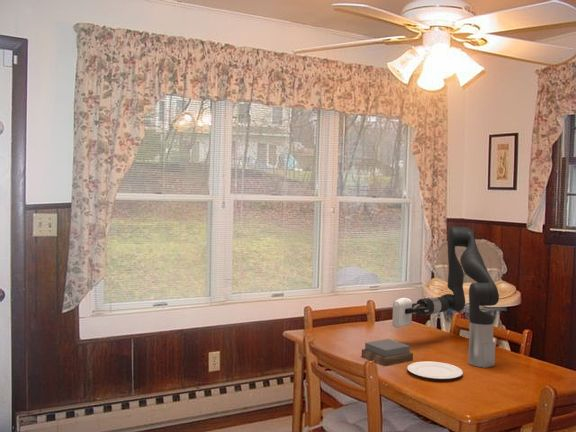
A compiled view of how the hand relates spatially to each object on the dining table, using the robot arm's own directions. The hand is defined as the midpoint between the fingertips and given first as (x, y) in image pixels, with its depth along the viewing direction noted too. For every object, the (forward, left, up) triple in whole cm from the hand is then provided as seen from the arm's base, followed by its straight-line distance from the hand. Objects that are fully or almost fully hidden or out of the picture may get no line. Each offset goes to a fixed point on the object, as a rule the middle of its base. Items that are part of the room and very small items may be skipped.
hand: (401, 310), depth 246 cm
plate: (-31, +11, -18) cm, 38 cm away
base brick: (-7, +14, -18) cm, 24 cm away
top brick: (-7, +14, -15) cm, 21 cm away
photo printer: (0, -1, -7) cm, 7 cm away
